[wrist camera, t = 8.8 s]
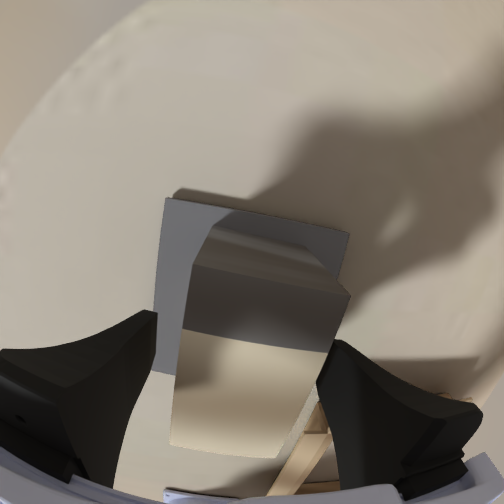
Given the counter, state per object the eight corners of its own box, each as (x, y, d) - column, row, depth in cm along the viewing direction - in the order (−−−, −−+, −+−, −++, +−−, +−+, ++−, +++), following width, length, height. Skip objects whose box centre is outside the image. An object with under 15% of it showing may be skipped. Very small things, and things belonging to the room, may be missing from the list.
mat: (296, 386, 16) (298, 391, 16) (153, 365, 16) (151, 370, 15) (346, 231, 14) (349, 233, 14) (168, 197, 13) (165, 198, 13)
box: (264, 377, 16) (275, 458, 10) (187, 363, 15) (168, 444, 9) (305, 246, 14) (350, 296, 8) (212, 225, 13) (192, 263, 7)
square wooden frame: (387, 479, 22) (395, 497, 19) (252, 492, 20) (254, 515, 18) (464, 378, 18) (482, 396, 15) (303, 385, 16) (312, 418, 14)
